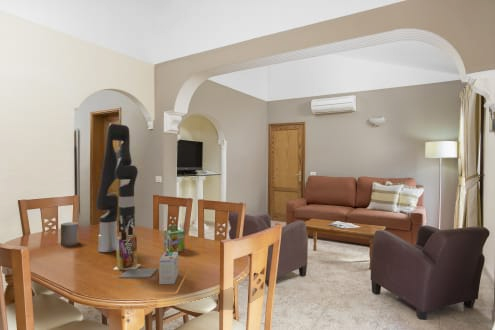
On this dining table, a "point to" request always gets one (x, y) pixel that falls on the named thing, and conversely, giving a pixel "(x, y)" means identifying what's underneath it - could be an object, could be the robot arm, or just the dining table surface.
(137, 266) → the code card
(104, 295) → the dining table surface
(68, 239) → the pillar candle
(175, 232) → the chalk box
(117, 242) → the candy box
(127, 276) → the slate coaster
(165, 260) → the light bulb box
